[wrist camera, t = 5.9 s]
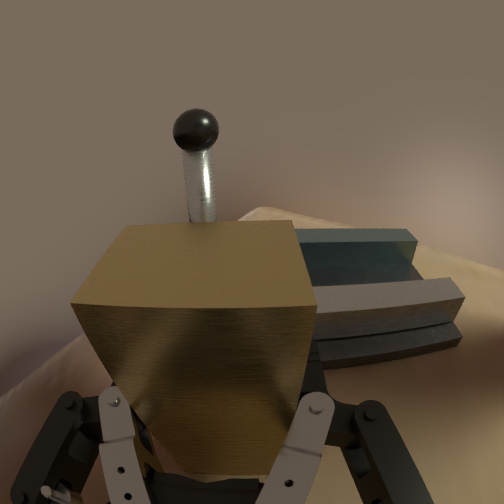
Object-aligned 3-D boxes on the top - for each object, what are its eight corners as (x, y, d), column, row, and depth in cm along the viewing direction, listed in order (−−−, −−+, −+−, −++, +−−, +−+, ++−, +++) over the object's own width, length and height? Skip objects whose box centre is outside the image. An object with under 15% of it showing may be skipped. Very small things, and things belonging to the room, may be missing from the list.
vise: (457, 345, 20) (476, 311, 17) (207, 373, 20) (199, 337, 17) (395, 254, 33) (402, 225, 31) (222, 258, 33) (219, 226, 31)
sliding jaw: (456, 324, 20) (514, 150, 12) (200, 347, 20) (165, 112, 12) (440, 300, 23) (484, 138, 15) (205, 315, 23) (181, 109, 15)
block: (278, 474, 13) (317, 305, 5) (186, 471, 13) (70, 302, 5) (274, 420, 16) (291, 220, 9) (191, 419, 16) (126, 225, 9)
